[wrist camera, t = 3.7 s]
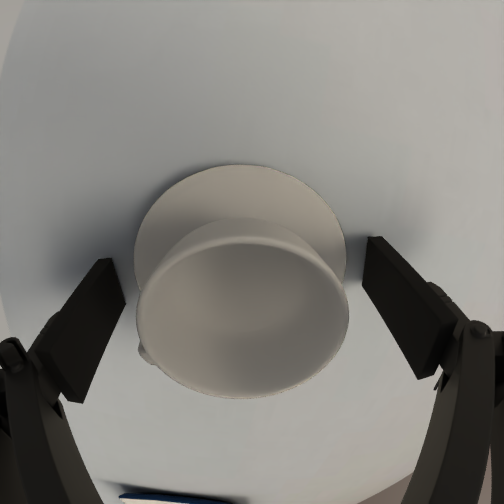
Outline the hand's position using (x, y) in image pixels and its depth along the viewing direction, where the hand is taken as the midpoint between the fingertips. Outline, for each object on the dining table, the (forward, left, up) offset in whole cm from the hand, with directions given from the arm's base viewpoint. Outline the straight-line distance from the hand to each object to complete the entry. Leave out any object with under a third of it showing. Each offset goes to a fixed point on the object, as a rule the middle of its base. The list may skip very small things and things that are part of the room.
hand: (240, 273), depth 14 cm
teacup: (0, 0, 0) cm, 0 cm away
